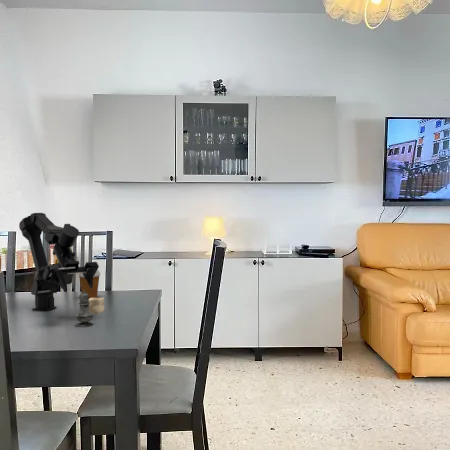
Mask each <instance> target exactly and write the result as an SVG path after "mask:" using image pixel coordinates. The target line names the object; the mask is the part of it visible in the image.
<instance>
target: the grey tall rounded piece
mask: <svg viewBox="0 0 450 450" xmlns="http://www.w3.org/2000/svg"><path fill="white" fill-rule="evenodd" d="M89 304H90V303H89V295H88V293H86V292H85V290H84V291H83V293H82V292H80V295H79V303H78V305H79V312H78V313H76V314H75V317H76V320H77V321H78V323H76V327H80V328H85V327H91V326H93V322H91V320H92V319H93V316H94V313H91V312H90V311H89Z"/></svg>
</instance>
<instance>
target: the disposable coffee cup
mask: <svg viewBox="0 0 450 450" xmlns="http://www.w3.org/2000/svg"><path fill="white" fill-rule="evenodd" d="M77 274H78V275H77V276H78V277H79V285H80V290H81V291H80V293H83V291H84V290H85V292H86V293H88V295H89V299H90V298H98V292H99V283H100V276H101V272H100V269H99V270H97V271H96V273H95V275H94V276H93V287H92V289H90V287H89V285H88V282H87V280H86V279H84V277H85V276H83V273H77Z"/></svg>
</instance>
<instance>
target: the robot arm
mask: <svg viewBox="0 0 450 450" xmlns="http://www.w3.org/2000/svg"><path fill="white" fill-rule="evenodd" d="M18 228H19V230H20V232H21V234H22V237H24V238H25V239H26V240H27V241H28V244H29V247H30V253H31V256H32V260H33V264H34V267H35V275H34V278H33V282H32V285H31V288H30V293H31V295H33V296H34V306H35V307H33V308H32V311H44V312H47V311H50V310H54V309H57V306H56V305H55V297H54V294H57V293H58V290H59V289H58V288H61V289H62V290H63V291H64V292H65V293H67V292H68V286H67V285H71V284H72V283H73V278H74V274H79V273H83V276H85V277H84V279H86V280H87V282H88V285H89V287H90V289H92V287H93V276H94V275H95V273H96V271H97V270H98V269H99V268H100V266H99V264H98V262H97V261H87V262H85V264H84V266H79V265H80V261H79V260H77V259H76V252H74V251H73V250H72V248H71V247H73V246H75V243H76V242H77V239H78V237H79V235H80V230H79V229H78V228H77V227H75V226H73V225H71V223H64V225H63V227H62V226H58V225H55V224H54V223H53V222H52V221H51V220H50V219H49V218H48V216H47V215H46V213H44V212H33V213H31V214H30V215H28V216H25V217H24V218H22V220H20V221H19V224H18ZM42 232H43V234H44V240H45V242H46V243H47V245H54V246H53V248H52V249H53V251H52V255H53V256H55V257H56V259H57V261H58V262H57V264H50V265H49V263H48V261H47V257H46V253H45V252H46V251H45V248H44V245H43V241H42V237H41V236H42Z"/></svg>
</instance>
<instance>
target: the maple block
mask: <svg viewBox="0 0 450 450" xmlns="http://www.w3.org/2000/svg"><path fill="white" fill-rule="evenodd" d="M89 303H90V304H89V311H90V312H91V313H93V314H101V313H102V312H104V311H105V298H104V297H97V298H90V299H89Z"/></svg>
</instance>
